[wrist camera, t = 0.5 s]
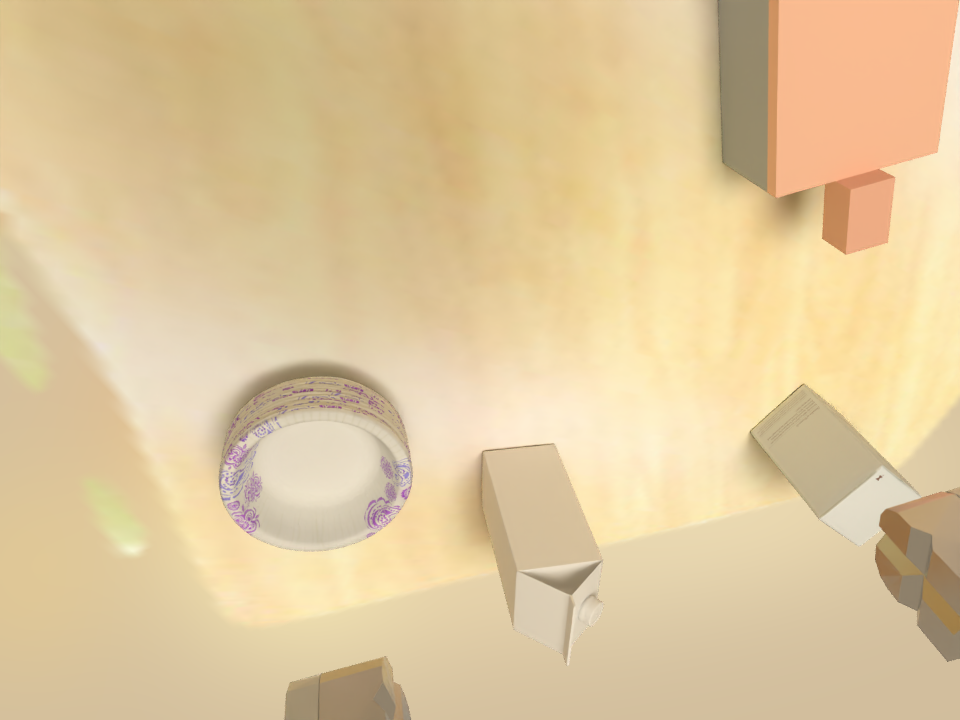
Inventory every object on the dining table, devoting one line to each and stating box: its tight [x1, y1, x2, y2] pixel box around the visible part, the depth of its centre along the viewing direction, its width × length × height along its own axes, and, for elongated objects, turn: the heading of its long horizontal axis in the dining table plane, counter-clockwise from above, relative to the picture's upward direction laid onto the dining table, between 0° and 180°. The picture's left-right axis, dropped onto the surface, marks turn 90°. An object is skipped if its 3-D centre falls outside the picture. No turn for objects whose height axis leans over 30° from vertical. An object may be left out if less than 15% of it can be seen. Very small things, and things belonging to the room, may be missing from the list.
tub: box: [718, 0, 769, 192], centre depth 50 cm, size 16×12×7 cm
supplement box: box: [751, 384, 922, 546], centre depth 69 cm, size 7×7×13 cm
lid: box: [767, 0, 959, 254], centre depth 48 cm, size 21×12×3 cm, turn 12°
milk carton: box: [482, 444, 603, 666], centre depth 64 cm, size 7×7×19 cm
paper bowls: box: [219, 376, 413, 551], centre depth 61 cm, size 15×15×8 cm
